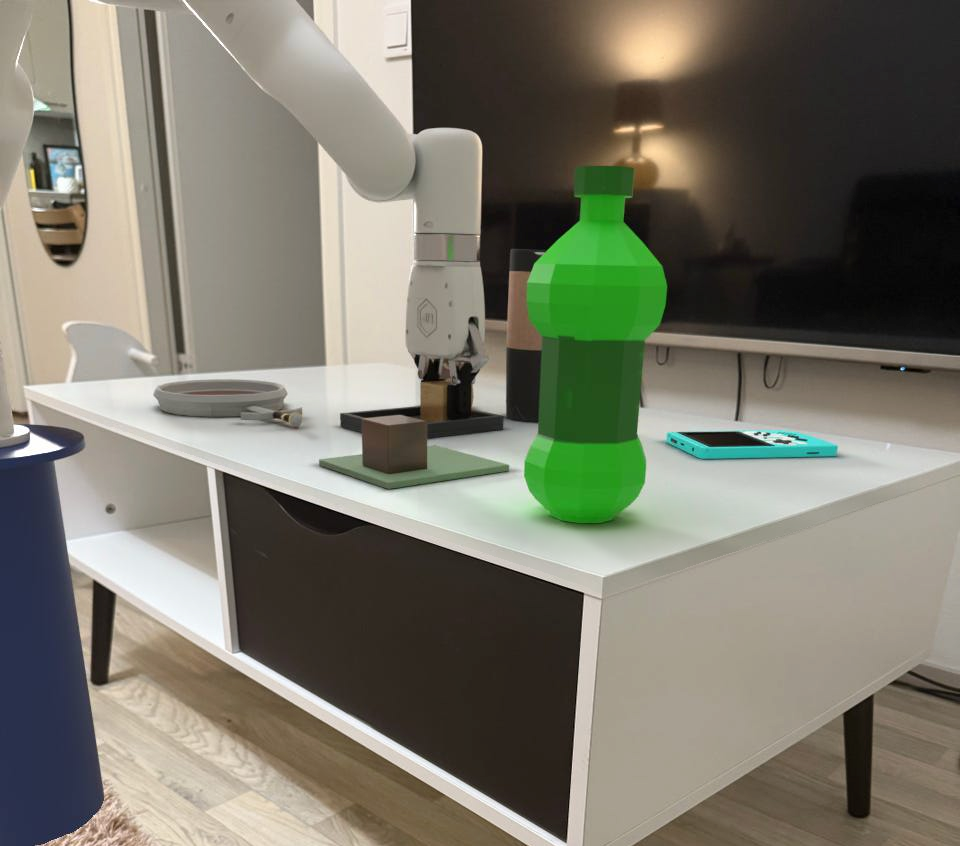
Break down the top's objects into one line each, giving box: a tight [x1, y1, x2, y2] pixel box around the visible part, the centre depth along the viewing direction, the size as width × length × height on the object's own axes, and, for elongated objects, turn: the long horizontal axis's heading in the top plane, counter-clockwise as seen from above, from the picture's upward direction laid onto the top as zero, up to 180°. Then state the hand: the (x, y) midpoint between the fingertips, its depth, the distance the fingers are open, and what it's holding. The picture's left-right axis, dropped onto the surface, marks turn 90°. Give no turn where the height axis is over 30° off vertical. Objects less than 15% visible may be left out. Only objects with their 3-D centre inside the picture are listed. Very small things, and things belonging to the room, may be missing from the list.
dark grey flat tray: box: [339, 405, 505, 439], centre depth 111 cm, size 16×12×2 cm
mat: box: [318, 444, 510, 490], centre depth 90 cm, size 14×12×1 cm
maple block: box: [419, 380, 471, 422], centre depth 112 cm, size 4×4×4 cm
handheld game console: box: [665, 429, 839, 460], centre depth 103 cm, size 10×16×1 cm, turn 102°
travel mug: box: [505, 248, 548, 423], centre depth 117 cm, size 8×8×20 cm
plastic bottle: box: [523, 165, 668, 524], centre depth 71 cm, size 10×10×25 cm
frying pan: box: [152, 378, 303, 428], centre depth 118 cm, size 17×3×28 cm
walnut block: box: [361, 415, 428, 474], centre depth 87 cm, size 4×4×4 cm
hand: (445, 414), depth 113 cm, fingers open, 4 cm apart
